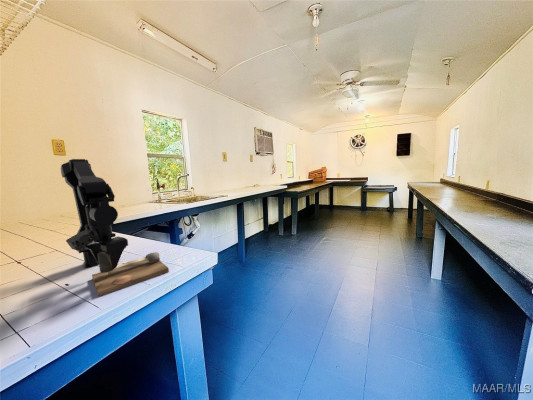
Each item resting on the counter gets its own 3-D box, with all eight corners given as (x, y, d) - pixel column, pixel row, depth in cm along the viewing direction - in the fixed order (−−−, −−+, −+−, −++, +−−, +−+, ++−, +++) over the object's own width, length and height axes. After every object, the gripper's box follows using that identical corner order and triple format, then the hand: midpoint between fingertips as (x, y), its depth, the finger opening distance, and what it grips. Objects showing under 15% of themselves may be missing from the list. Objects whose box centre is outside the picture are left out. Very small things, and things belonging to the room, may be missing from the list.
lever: (157, 257, 85) (155, 238, 84) (161, 260, 82) (158, 241, 81) (100, 274, 73) (96, 252, 72) (102, 279, 70) (98, 256, 69)
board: (92, 278, 74) (91, 274, 74) (155, 259, 88) (154, 255, 87) (98, 296, 63) (97, 291, 63) (168, 271, 77) (168, 267, 76)
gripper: (54, 223, 67) (63, 270, 70) (82, 230, 58) (92, 283, 61) (95, 215, 77) (102, 257, 79) (125, 220, 68) (132, 266, 71)
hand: (106, 265), depth 72 cm, fingers open, 9 cm apart
